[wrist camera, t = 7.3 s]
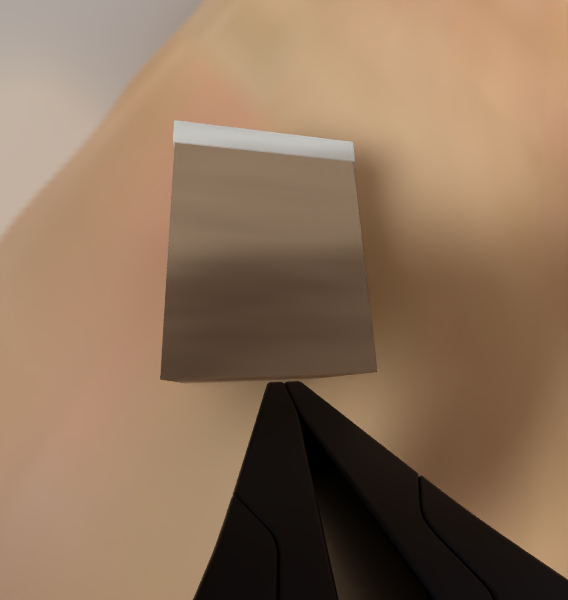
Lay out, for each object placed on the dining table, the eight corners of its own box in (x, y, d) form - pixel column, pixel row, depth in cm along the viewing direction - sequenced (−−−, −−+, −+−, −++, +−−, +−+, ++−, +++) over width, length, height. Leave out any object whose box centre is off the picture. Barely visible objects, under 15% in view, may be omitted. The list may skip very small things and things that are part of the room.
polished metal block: (379, 372, 9) (352, 141, 11) (157, 379, 8) (174, 120, 10) (317, 378, 15) (307, 225, 17) (183, 383, 14) (190, 217, 16)
